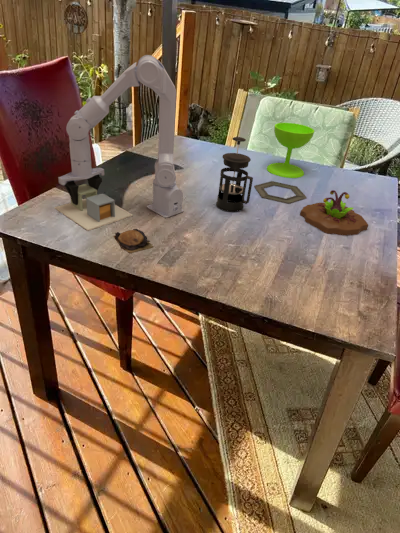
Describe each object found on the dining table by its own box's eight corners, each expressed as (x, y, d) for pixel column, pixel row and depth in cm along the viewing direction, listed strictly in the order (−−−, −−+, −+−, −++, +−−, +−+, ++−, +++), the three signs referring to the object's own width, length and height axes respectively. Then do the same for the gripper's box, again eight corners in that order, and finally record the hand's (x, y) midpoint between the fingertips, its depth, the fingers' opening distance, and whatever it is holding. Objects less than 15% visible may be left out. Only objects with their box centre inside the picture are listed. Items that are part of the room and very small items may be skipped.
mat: (132, 215, 123) (132, 214, 123) (87, 231, 113) (87, 229, 113) (98, 196, 133) (98, 194, 133) (54, 208, 123) (54, 207, 123)
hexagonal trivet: (302, 208, 140) (303, 205, 140) (248, 195, 145) (248, 193, 145) (309, 191, 154) (309, 189, 154) (259, 180, 159) (259, 178, 159)
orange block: (110, 216, 121) (110, 204, 119) (99, 220, 118) (98, 207, 116) (103, 211, 123) (102, 199, 121) (91, 215, 121) (90, 202, 118)
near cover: (115, 216, 121) (114, 200, 118) (98, 222, 117) (97, 205, 114) (103, 209, 124) (102, 193, 121) (87, 214, 121) (86, 197, 117)
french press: (209, 205, 134) (216, 137, 122) (222, 197, 141) (230, 131, 129) (240, 216, 130) (251, 146, 117) (252, 206, 137) (264, 139, 124)
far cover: (97, 206, 126) (96, 190, 123) (81, 211, 122) (80, 194, 119) (87, 199, 129) (85, 183, 126) (71, 204, 125) (69, 187, 122)
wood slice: (155, 249, 110) (156, 237, 107) (126, 256, 105) (126, 244, 103) (138, 231, 117) (138, 220, 115) (110, 237, 112) (110, 225, 110)
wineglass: (276, 161, 179) (285, 120, 169) (309, 171, 172) (320, 129, 162) (259, 170, 168) (267, 126, 158) (294, 181, 161) (304, 136, 151)
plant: (327, 240, 122) (338, 206, 116) (291, 212, 137) (298, 181, 131) (376, 231, 130) (388, 200, 124) (337, 206, 144) (346, 176, 138)
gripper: (94, 150, 124) (96, 191, 132) (51, 159, 115) (56, 202, 122) (107, 157, 120) (109, 198, 128) (64, 166, 111) (68, 210, 119)
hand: (84, 201), depth 125 cm, fingers closed on far cover, 6 cm apart
